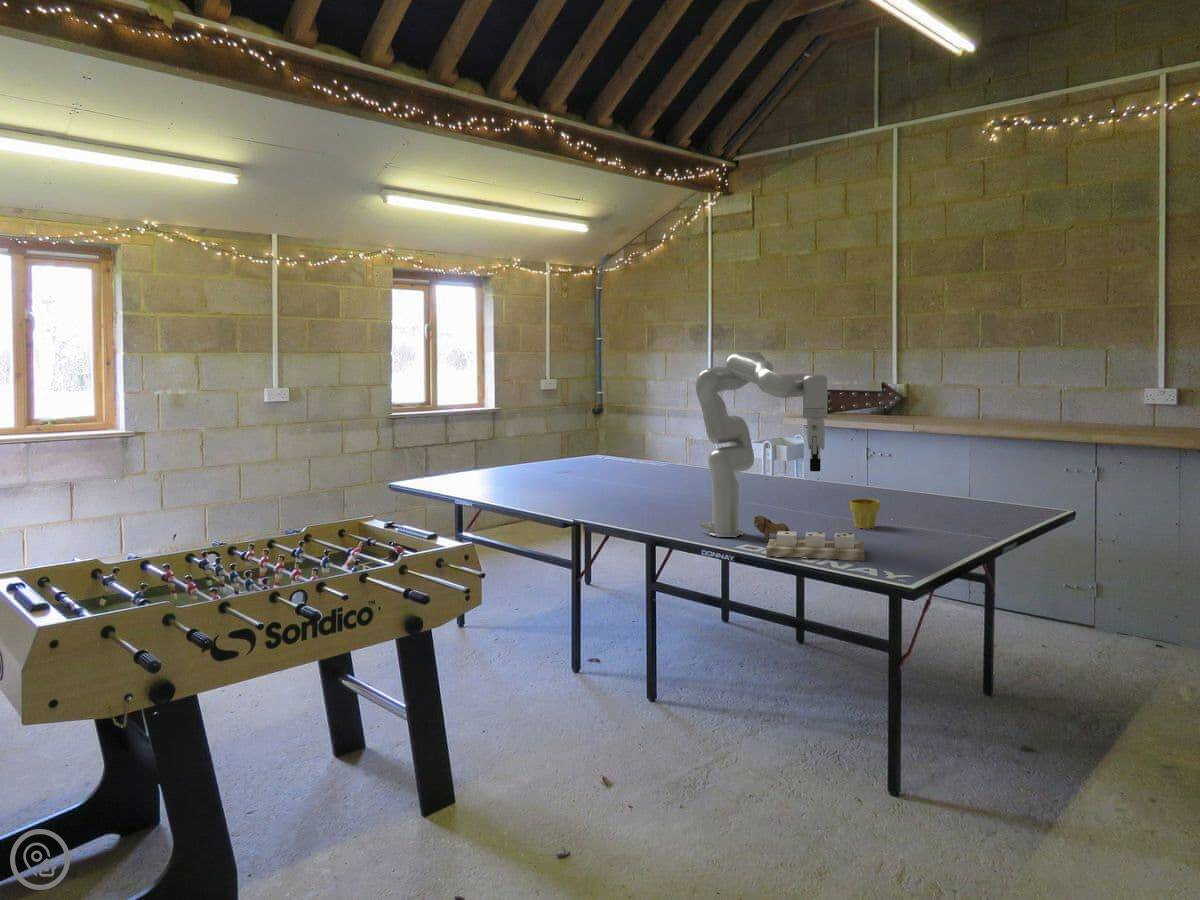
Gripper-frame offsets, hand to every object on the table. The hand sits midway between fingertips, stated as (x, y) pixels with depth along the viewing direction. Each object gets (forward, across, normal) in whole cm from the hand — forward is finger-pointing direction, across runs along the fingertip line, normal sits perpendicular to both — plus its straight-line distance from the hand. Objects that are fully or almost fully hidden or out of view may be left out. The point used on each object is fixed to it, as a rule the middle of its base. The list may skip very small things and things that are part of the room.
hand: (815, 470), depth 276 cm
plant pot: (+27, +43, -16) cm, 53 cm away
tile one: (+25, 0, +9) cm, 26 cm away
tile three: (+25, 0, -9) cm, 26 cm away
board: (+27, 0, 0) cm, 27 cm away
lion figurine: (+27, +15, +14) cm, 34 cm away
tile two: (+25, 0, 0) cm, 25 cm away
